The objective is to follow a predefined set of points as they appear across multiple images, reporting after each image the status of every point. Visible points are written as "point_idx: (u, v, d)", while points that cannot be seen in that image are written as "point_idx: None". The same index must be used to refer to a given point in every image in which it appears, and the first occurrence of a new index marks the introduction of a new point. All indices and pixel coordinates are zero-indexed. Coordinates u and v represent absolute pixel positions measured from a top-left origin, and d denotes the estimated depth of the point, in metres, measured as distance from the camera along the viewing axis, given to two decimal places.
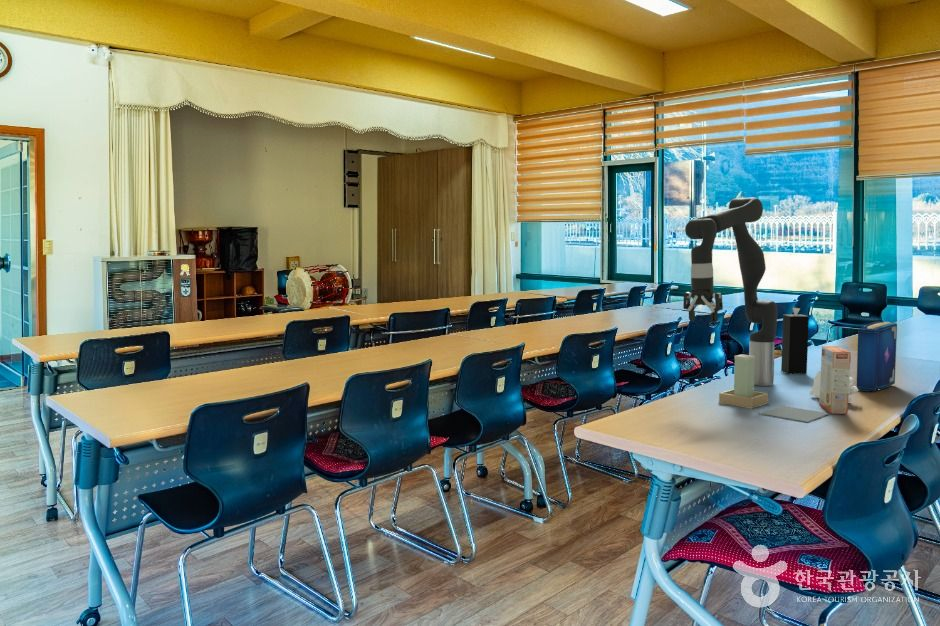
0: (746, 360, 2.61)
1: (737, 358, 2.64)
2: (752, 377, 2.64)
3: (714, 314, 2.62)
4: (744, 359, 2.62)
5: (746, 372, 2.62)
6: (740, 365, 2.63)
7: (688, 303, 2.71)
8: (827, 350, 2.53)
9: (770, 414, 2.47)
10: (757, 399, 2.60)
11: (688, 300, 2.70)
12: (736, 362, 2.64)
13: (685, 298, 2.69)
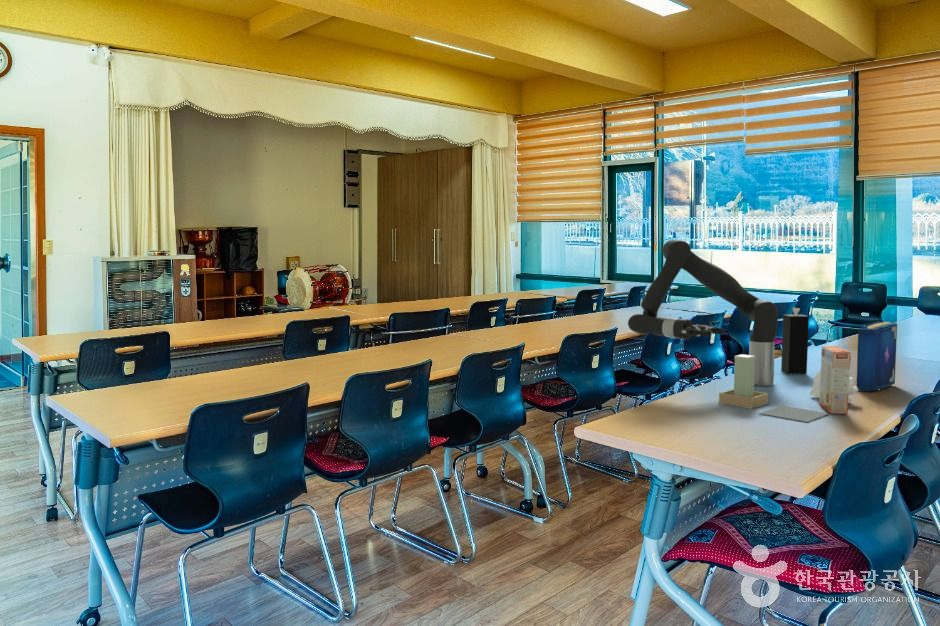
0: (746, 360, 2.61)
1: (737, 358, 2.64)
2: (752, 377, 2.64)
3: (702, 334, 2.71)
4: (744, 359, 2.62)
5: (746, 372, 2.62)
6: (740, 365, 2.63)
7: (710, 327, 2.80)
8: (827, 350, 2.53)
9: (770, 414, 2.47)
10: (757, 399, 2.60)
11: None
12: (736, 362, 2.64)
13: None
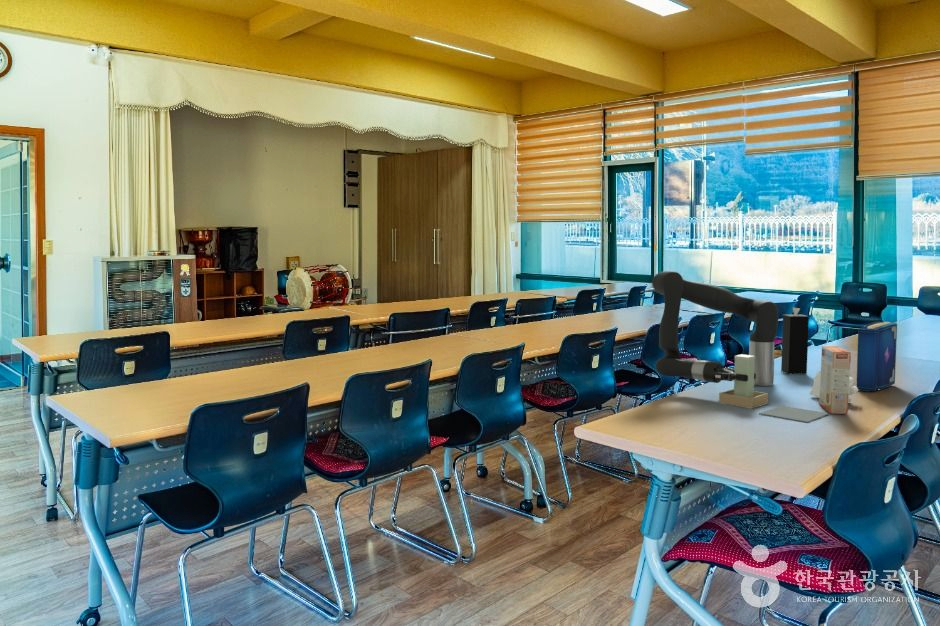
0: (746, 360, 2.61)
1: (737, 358, 2.64)
2: (752, 377, 2.64)
3: None
4: (744, 359, 2.62)
5: (746, 372, 2.62)
6: (740, 365, 2.63)
7: None
8: (827, 350, 2.53)
9: (770, 414, 2.47)
10: (757, 399, 2.60)
11: None
12: (736, 362, 2.64)
13: None
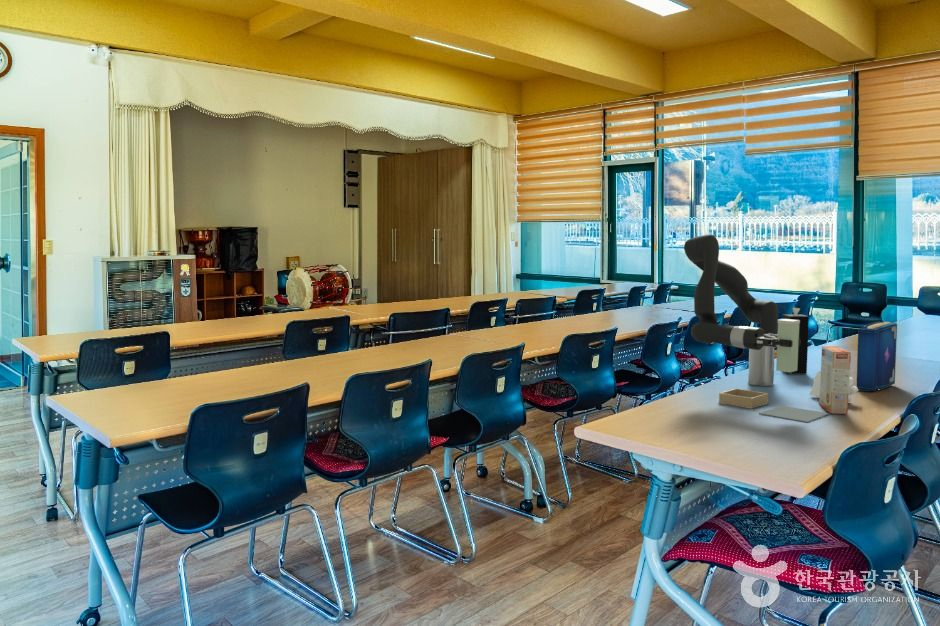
0: (791, 324, 2.44)
1: (781, 322, 2.47)
2: (796, 343, 2.47)
3: (782, 345, 2.46)
4: (788, 323, 2.45)
5: (791, 337, 2.45)
6: (783, 330, 2.46)
7: None
8: (827, 350, 2.53)
9: (770, 414, 2.47)
10: (757, 399, 2.60)
11: None
12: (779, 327, 2.47)
13: None
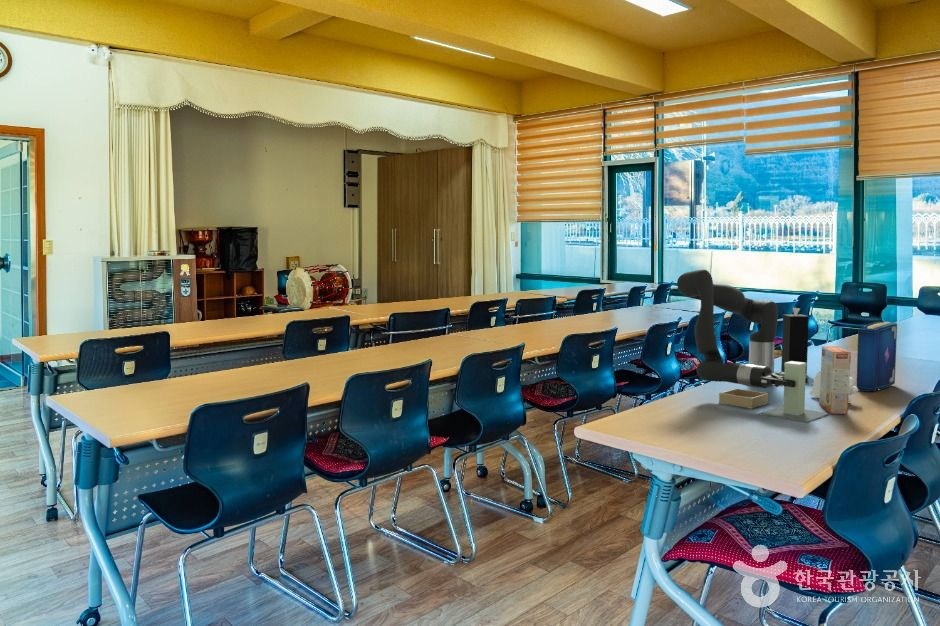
0: (797, 367, 2.44)
1: (787, 365, 2.46)
2: (803, 385, 2.47)
3: (785, 385, 2.45)
4: (795, 366, 2.45)
5: (798, 381, 2.44)
6: (790, 373, 2.46)
7: None
8: (827, 350, 2.53)
9: (770, 414, 2.47)
10: (757, 399, 2.60)
11: None
12: (786, 369, 2.47)
13: None
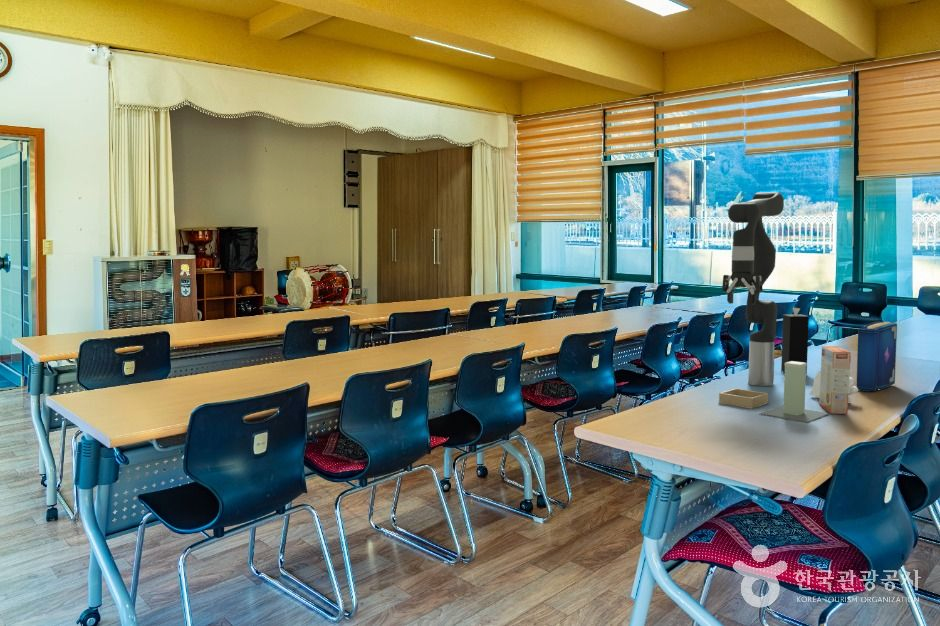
0: (798, 367, 2.44)
1: (787, 365, 2.46)
2: (803, 385, 2.47)
3: (754, 296, 2.68)
4: (795, 366, 2.44)
5: (798, 381, 2.44)
6: (790, 373, 2.46)
7: (727, 285, 2.77)
8: (827, 350, 2.53)
9: (770, 414, 2.47)
10: (757, 399, 2.60)
11: (727, 282, 2.76)
12: (786, 369, 2.47)
13: (724, 280, 2.75)
